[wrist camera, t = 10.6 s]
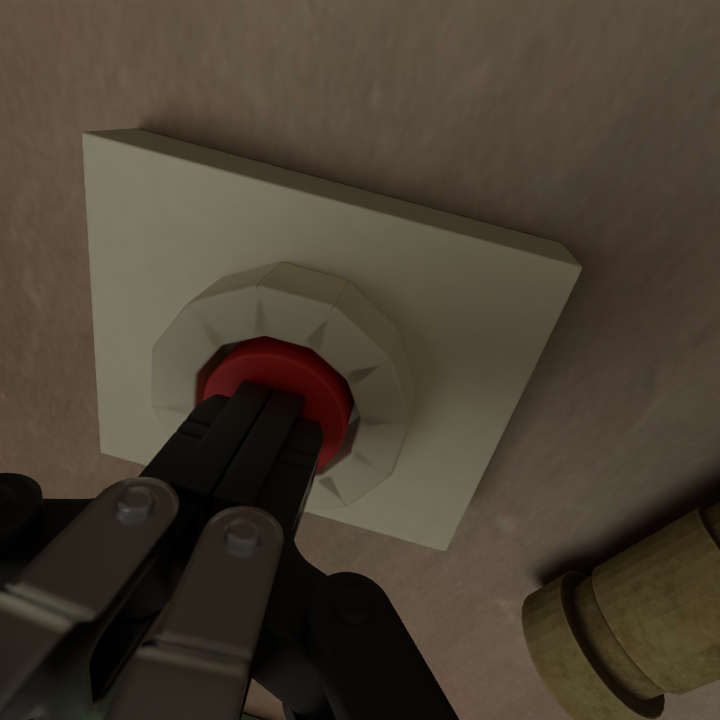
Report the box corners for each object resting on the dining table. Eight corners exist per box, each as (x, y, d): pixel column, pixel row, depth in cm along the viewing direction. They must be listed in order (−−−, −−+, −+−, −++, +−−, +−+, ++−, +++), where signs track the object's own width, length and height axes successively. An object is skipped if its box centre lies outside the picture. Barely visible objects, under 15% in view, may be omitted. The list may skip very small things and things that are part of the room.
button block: (562, 242, 13) (608, 294, 9) (445, 504, 18) (446, 603, 14) (134, 127, 13) (19, 134, 9) (136, 415, 18) (62, 491, 14)
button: (370, 344, 12) (360, 378, 11) (341, 450, 14) (329, 492, 12) (236, 307, 12) (206, 335, 11) (224, 416, 14) (197, 454, 12)
